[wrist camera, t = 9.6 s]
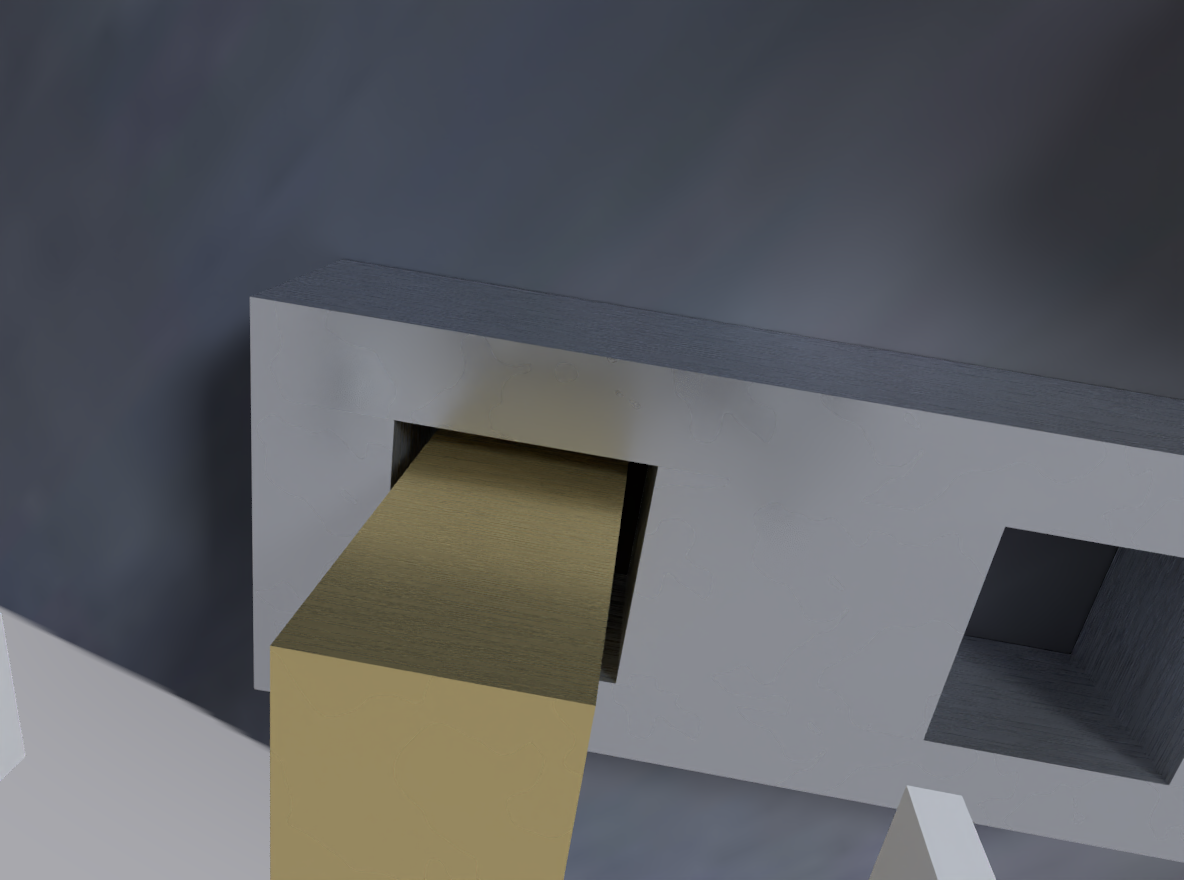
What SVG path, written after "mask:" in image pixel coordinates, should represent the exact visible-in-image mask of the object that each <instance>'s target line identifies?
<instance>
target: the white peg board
mask: <svg viewBox="0 0 1184 880" xmlns="http://www.w3.org/2000/svg"><path fill="white" fill-rule="evenodd" d="M250 356H251V451H252V545H253V640H254V689H257V690H263V691H268V692H270V645H271V644H272V642H273V641H274V640H275V639H276V637H277V636H278V635H279V633H280V632H281V631H282V630H283V628H284V627H285V626H286V624H287V623H288V622H289V620H290V619H291V618H292V617H293V615H294V614H295V613H296V611H297V610H298V609H299V608H300V606H301V605H302V604H303V602H304V601H305V600H306V599H307V597H308V596H309V595H310V593H311V592H312V591H313V590H314V588H315V587H316V586H317V584H318V583H319V582H320V581H321V579H322V578H323V577H324V575H325V574H326V573H327V572H328V570H329V569H330V568H331V566H332V565H333V564H334V563H335V561H336V560H337V559H338V557H339V556H340V555H341V553H342V552H343V551H344V550H345V548H346V547H347V546H348V544H349V543H350V542H351V541H352V539H353V538H354V537H355V535H356V534H357V533H358V532H359V530H360V529H361V528H362V526H363V525H364V524H365V523H366V521H367V520H368V519H369V517H370V516H371V515H372V514H373V512H374V511H375V510H376V508H377V507H378V506H379V505H380V503H381V502H382V501H383V499H384V498H385V497H386V495H387V494H388V493H389V492H390V490H391V489H392V488H393V486H394V485H395V484H396V483H397V481H398V480H399V479H400V477H401V476H402V475H403V474H404V472H405V471H406V470H407V468H408V467H409V466H410V465H411V463H412V462H413V461H414V459H415V458H416V457H417V456H418V454H419V453H420V452H421V450H422V449H423V448H424V447H425V445H426V444H427V443H428V441H429V440H430V439H431V438H432V436H433V435H434V434H435V432H436V431H437V430H438V428H442V429H448V430H454V431H459V432H465V433H471V434H477V435H482V436H488V437H494V438H500V439H505V440H511V441H517V442H523V443H528V444H534V445H540V446H545V447H551V448H557V449H563V450H568V451H574V452H580V453H586V454H591V455H597V456H603V457H609V458H614V459H620V460H626V461H632V462H637V463H643V464H648V468H647V473H646V478H645V484H644V489H643V494H642V499H641V505H640V510H639V515H638V520H637V526H636V531H635V536H634V541H633V547H632V552H631V557H630V562H629V568H628V573H627V575H624V574H619V573H614V575H613V582H612V589H611V597H610V604H609V612H608V619H607V626H606V634H605V641H604V648H603V656H602V663H601V671H600V678H599V685H598V693H597V700H596V707H595V712H594V718H593V723H592V729H591V734H590V739H589V745H588V750H587V751H589V752H595V753H600V754H605V755H611V756H616V757H621V758H627V759H632V760H637V761H643V762H648V763H654V764H659V765H664V766H670V767H675V768H680V769H686V770H691V771H696V772H702V773H707V774H712V775H718V776H723V777H729V778H734V779H739V780H745V781H750V782H755V783H761V784H766V785H771V786H777V787H782V788H787V789H793V790H798V791H803V792H809V793H814V794H820V795H825V796H830V797H836V798H841V799H846V800H852V801H857V802H862V803H868V804H873V805H878V806H884V807H889V808H895V809H897V808H898V806H899V803H900V801H901V798H902V795H903V793H904V790H905V788H906V785H908V786H913V787H919V788H924V789H929V790H934V791H940V792H945V793H950V794H955V795H961V796H962V797H963V799H964V802H965V804H966V807H967V809H968V812H969V814H970V817H971V819H972V822H973V823H975V824H980V825H986V826H991V827H996V828H1002V829H1007V830H1012V831H1018V832H1023V833H1028V834H1034V835H1039V836H1044V837H1050V838H1055V839H1061V840H1066V841H1071V842H1077V843H1082V844H1087V845H1093V846H1098V847H1103V848H1109V849H1114V850H1119V851H1125V852H1130V853H1135V854H1141V855H1146V856H1152V857H1157V858H1162V859H1168V860H1173V861H1178V862H1184V400H1179V399H1173V398H1167V397H1161V396H1155V395H1149V394H1143V393H1137V392H1131V391H1125V390H1119V389H1113V388H1107V387H1101V386H1096V385H1090V384H1084V383H1078V382H1072V381H1066V380H1060V379H1054V378H1048V377H1042V376H1036V375H1030V374H1024V373H1018V372H1012V371H1006V370H1000V369H994V368H988V367H982V366H976V365H970V364H964V363H958V362H953V361H947V360H941V359H935V358H929V357H923V356H917V355H911V354H905V353H899V352H893V351H887V350H881V349H875V348H869V347H863V346H857V345H851V344H845V343H839V342H833V341H827V340H821V339H815V338H810V337H804V336H798V335H792V334H786V333H780V332H774V331H768V330H762V329H756V328H750V327H744V326H738V325H732V324H726V323H720V322H714V321H708V320H702V319H696V318H690V317H684V316H678V315H672V314H667V313H661V312H655V311H649V310H643V309H637V308H631V307H625V306H619V305H613V304H607V303H601V302H595V301H589V300H583V299H577V298H571V297H565V296H559V295H553V294H547V293H541V292H535V291H529V290H524V289H518V288H512V287H506V286H500V285H494V284H488V283H482V282H476V281H470V280H464V279H458V278H452V277H446V276H440V275H434V274H428V273H422V272H416V271H410V270H404V269H398V268H392V267H386V266H381V265H375V264H369V263H363V262H357V261H351V260H345V259H342V260H339V261H337V262H334V263H332V264H329V265H327V266H325V267H322V268H320V269H317V270H315V271H312V272H310V273H307V274H305V275H302V276H300V277H297V278H295V279H292V280H290V281H287V282H285V283H282V284H280V285H278V286H275V287H273V288H270V289H268V290H265V291H263V292H260V293H258V294H255V295H253V296H250ZM1005 527H1010V528H1016V529H1022V530H1027V531H1033V532H1039V533H1045V534H1050V535H1056V536H1062V537H1068V538H1073V539H1079V540H1085V541H1091V542H1096V543H1102V544H1108V545H1114V546H1119V548H1118V550H1117V552H1116V555H1115V557H1114V559H1113V561H1112V564H1111V566H1110V568H1109V570H1108V572H1107V575H1106V577H1105V579H1104V581H1103V584H1102V586H1101V588H1100V590H1099V593H1098V595H1097V597H1096V599H1095V601H1094V604H1093V606H1092V608H1091V610H1090V613H1089V615H1088V617H1087V619H1086V622H1085V624H1084V626H1083V628H1082V631H1081V633H1080V635H1079V637H1078V639H1077V642H1076V644H1075V646H1074V648H1073V651H1072V653H1071V654H1066V653H1060V652H1054V651H1049V650H1043V649H1038V648H1032V647H1026V646H1021V645H1015V644H1010V643H1004V642H999V641H993V640H987V639H982V638H976V637H971V636H965V635H964V633H965V630H966V627H967V625H968V622H969V620H970V617H971V614H972V612H973V609H974V607H975V604H976V601H977V599H978V596H979V594H980V591H981V588H982V586H983V583H984V581H985V578H986V575H987V573H988V570H989V567H990V565H991V562H992V560H993V557H994V554H995V552H996V549H997V547H998V544H999V541H1000V539H1001V536H1002V534H1003V531H1004V528H1005Z"/></svg>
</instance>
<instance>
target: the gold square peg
mask: <svg viewBox="0 0 1184 880" xmlns="http://www.w3.org/2000/svg"><path fill="white" fill-rule="evenodd" d="M628 464H629V461H626V460H620V459H614V458H609V457H603V456H597V455H591V454H586V453H580V452H574V451H568V450H563V449H557V448H551V447H545V446H540V445H534V444H528V443H523V442H517V441H511V440H505V439H500V438H494V437H488V436H482V435H477V434H471V433H465V432H459V431H454V430H448V429H442V428H438V430H437V431H436V432H435V434H434V435H433V436H432V438H431V439H430V440H429V441H428V443H427V444H426V445H425V447H424V448H423V449H422V450H421V452H420V453H419V454H418V456H417V457H416V458H415V459H414V461H413V462H412V463H411V465H410V466H409V467H408V468H407V470H406V471H405V472H404V474H403V475H402V476H401V477H400V479H399V480H398V481H397V483H396V484H395V485H394V486H393V488H392V489H391V490H390V492H389V493H388V494H387V495H386V497H385V498H384V499H383V501H382V502H381V503H380V505H379V506H378V507H377V508H376V510H375V511H374V512H373V514H372V515H371V516H370V517H369V519H368V520H367V521H366V523H365V524H364V525H363V526H362V528H361V529H360V530H359V532H358V533H357V534H356V535H355V537H354V538H353V539H352V541H351V542H350V543H349V544H348V546H347V547H346V548H345V550H344V551H343V552H342V553H341V555H340V556H339V557H338V559H337V560H336V561H335V563H334V564H333V565H332V566H331V568H330V569H329V570H328V572H327V573H326V574H325V575H324V577H323V578H322V579H321V581H320V582H319V583H318V584H317V586H316V587H315V588H314V590H313V591H312V592H311V593H310V595H309V596H308V597H307V599H306V600H305V601H304V602H303V604H302V605H301V606H300V608H299V609H298V610H297V611H296V613H295V614H294V615H293V617H292V618H291V619H290V620H289V622H288V623H287V624H286V626H285V627H284V628H283V630H282V631H281V632H280V633H279V635H278V636H277V637H276V639H275V640H274V641H273V642H272V644H271V645H270V847H271V848H270V856H271V857H270V859H271V860H270V861H271V862H270V867H271V868H270V874H271V875H270V876H271V878H270V879H271V880H563V879H564V873H565V868H566V863H567V857H568V852H569V847H570V841H571V836H572V830H573V825H574V820H575V814H576V809H577V804H578V798H579V793H580V788H581V782H582V777H583V771H584V766H585V761H586V755H587V750H588V745H589V739H590V734H591V729H592V723H593V718H594V712H595V707H596V700H597V693H598V685H599V678H600V671H601V663H602V656H603V648H604V641H605V634H606V626H607V619H608V612H609V604H610V597H611V589H612V582H613V575H614V567H615V560H616V553H617V545H618V538H619V530H620V523H621V516H622V508H623V501H624V494H625V486H626V479H627V471H628Z"/></svg>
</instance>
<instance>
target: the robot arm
mask: <svg viewBox="0 0 1184 880" xmlns="http://www.w3.org/2000/svg"><path fill="white" fill-rule="evenodd" d="M25 756H26V755H25V749H24V743H23V737H22V731H21V725H20V719H19V713H18V707H17V701H16V696H15V690H14V683H13V678H12V672H11V666H10V660H9V654H8V648H7V642H6V636H5V630H4V624H3V618H2V612H0V781H1V780H2V779H3V778H4V777H5V776H6V775H7V774H8V773H9V772H10V771H11V770H12V769H13V768H14V767H15V766H16V765H17V764H18V763H19V762H20V761H21V760H23V759H24V758H25ZM869 880H996V878H995V876H994V873H993V871H992V869H991V866H990V864H989V861H988V859H987V856H986V854H985V851H984V849H983V846H982V844H981V841H980V839H979V836H978V834H977V831H976V829H975V827H974V824H973V822H972V819H971V817H970V814H969V812H968V809H967V807H966V804H965V802H964V799H963V797H962V796H961V795H955V794H950V793H945V792H940V791H934V790H929V789H924V788H919V787H913V786H908V785H906V788H905V790H904V793H903V795H902V798H901V801H900V803H899V806H898V808H897V811H896V813H895V816H894V818H893V821H892V823H891V826H890V828H889V831H888V833H887V836H886V838H885V841H884V843H883V846H882V848H881V851H880V853H879V856H878V858H877V861H876V863H875V866H874V868H873V871H872V873H871V876H870V878H869Z"/></svg>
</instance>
